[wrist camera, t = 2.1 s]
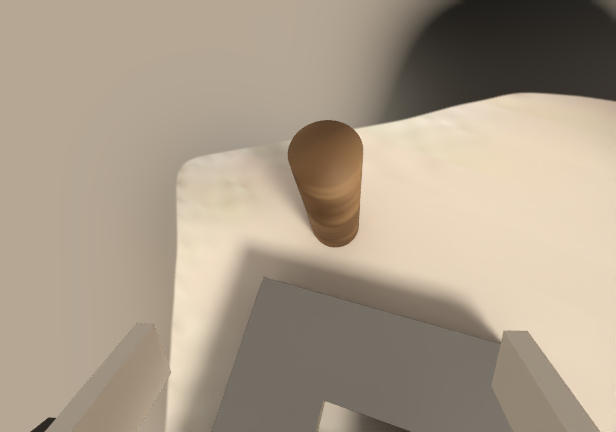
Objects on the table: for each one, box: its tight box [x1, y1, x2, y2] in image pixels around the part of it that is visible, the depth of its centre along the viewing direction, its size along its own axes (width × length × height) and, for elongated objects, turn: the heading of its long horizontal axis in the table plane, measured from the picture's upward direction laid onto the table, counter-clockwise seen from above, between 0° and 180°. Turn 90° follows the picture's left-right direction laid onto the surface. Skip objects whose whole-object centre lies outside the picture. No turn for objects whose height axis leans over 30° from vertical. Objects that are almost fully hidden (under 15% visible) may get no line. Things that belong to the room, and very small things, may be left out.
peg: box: [288, 120, 363, 247], centre depth 24 cm, size 4×4×13 cm
